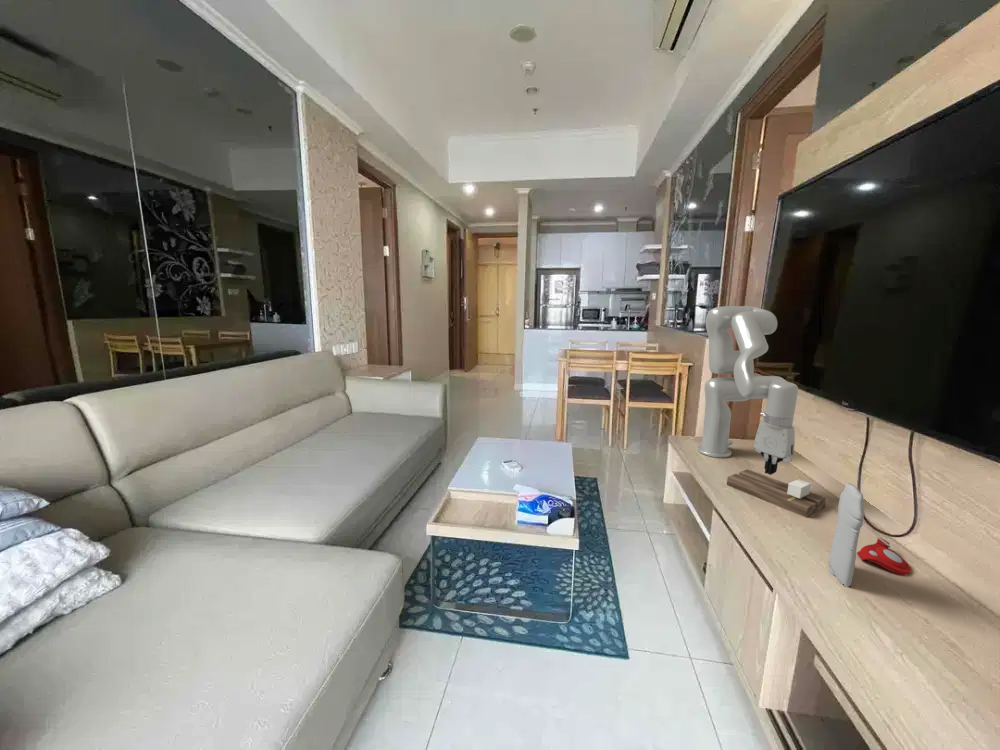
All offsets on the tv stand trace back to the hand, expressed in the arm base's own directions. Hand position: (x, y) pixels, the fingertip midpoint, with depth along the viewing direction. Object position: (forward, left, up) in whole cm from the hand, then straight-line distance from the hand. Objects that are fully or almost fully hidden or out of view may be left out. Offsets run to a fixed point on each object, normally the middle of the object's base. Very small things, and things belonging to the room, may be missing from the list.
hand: (769, 472), depth 133 cm
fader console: (0, +2, -7) cm, 7 cm away
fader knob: (0, +9, -5) cm, 10 cm away
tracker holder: (+12, +33, -8) cm, 36 cm away
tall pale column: (+27, +30, -7) cm, 41 cm away
